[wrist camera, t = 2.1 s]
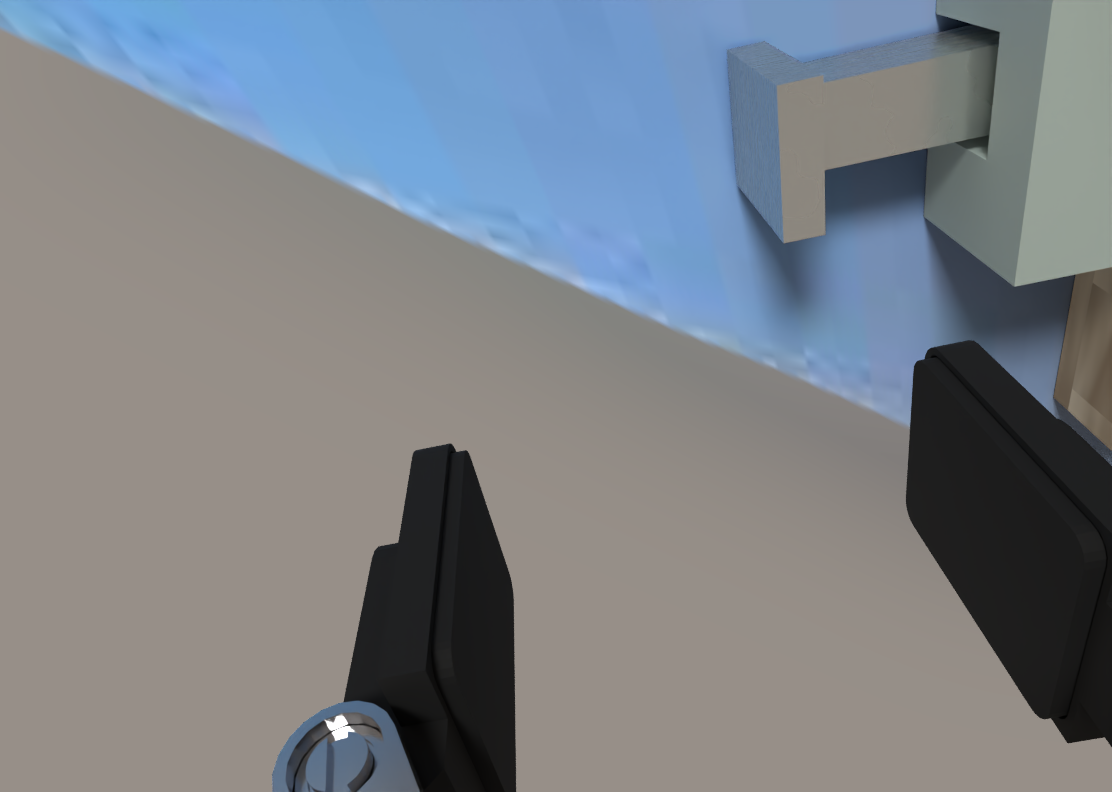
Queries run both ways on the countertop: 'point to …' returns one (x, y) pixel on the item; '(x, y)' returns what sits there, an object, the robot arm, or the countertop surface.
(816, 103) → the t-shaped push slider
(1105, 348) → the rack
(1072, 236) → the socket block
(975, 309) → the countertop surface
